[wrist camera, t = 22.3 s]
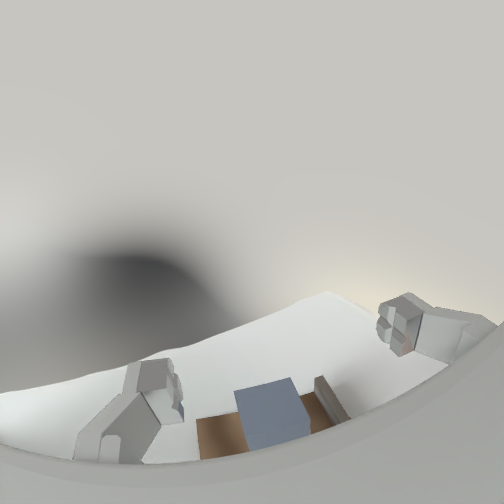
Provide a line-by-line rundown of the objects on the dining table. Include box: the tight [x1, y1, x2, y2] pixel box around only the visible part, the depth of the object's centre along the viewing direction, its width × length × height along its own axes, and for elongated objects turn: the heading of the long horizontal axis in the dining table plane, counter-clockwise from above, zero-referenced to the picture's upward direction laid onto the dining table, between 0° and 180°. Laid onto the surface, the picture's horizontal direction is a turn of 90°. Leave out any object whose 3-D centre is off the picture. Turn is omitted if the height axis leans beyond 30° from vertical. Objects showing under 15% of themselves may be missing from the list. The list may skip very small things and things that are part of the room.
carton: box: [234, 377, 311, 451], centre depth 21 cm, size 5×5×13 cm
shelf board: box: [196, 375, 351, 460], centre depth 23 cm, size 18×20×4 cm
